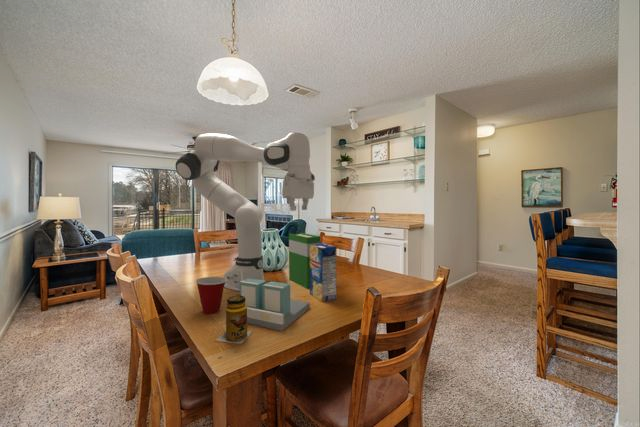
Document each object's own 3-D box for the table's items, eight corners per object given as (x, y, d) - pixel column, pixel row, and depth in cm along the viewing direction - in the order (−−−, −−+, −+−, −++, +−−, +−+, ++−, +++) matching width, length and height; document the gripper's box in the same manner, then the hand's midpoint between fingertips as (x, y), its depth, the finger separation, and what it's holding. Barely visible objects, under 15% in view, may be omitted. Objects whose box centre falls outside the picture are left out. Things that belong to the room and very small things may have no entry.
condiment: (242, 344, 77) (241, 302, 76) (214, 341, 78) (214, 301, 77) (252, 331, 84) (252, 294, 83) (227, 329, 85) (226, 292, 85)
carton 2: (262, 314, 92) (262, 285, 91) (271, 308, 96) (270, 281, 96) (282, 318, 88) (282, 288, 88) (290, 312, 93) (290, 283, 93)
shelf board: (231, 319, 92) (231, 305, 92) (265, 300, 110) (265, 288, 110) (281, 331, 84) (281, 315, 84) (309, 307, 102) (309, 294, 102)
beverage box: (322, 302, 108) (322, 248, 107) (309, 294, 118) (309, 244, 116) (336, 299, 111) (336, 246, 110) (323, 291, 121) (323, 243, 120)
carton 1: (239, 309, 96) (238, 281, 95) (248, 304, 100) (248, 277, 100) (257, 313, 92) (257, 284, 92) (266, 308, 97) (266, 280, 97)
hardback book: (289, 279, 139) (288, 233, 138) (301, 277, 143) (301, 232, 142) (307, 289, 124) (307, 237, 123) (320, 286, 128) (320, 236, 127)
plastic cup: (232, 310, 100) (232, 278, 99) (203, 319, 92) (203, 285, 92) (219, 303, 107) (218, 273, 107) (191, 310, 100) (190, 279, 99)
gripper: (292, 172, 94) (293, 211, 95) (316, 176, 113) (316, 209, 114) (277, 172, 97) (277, 211, 98) (303, 177, 116) (303, 209, 116)
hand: (299, 210), depth 106 cm, fingers open, 8 cm apart
